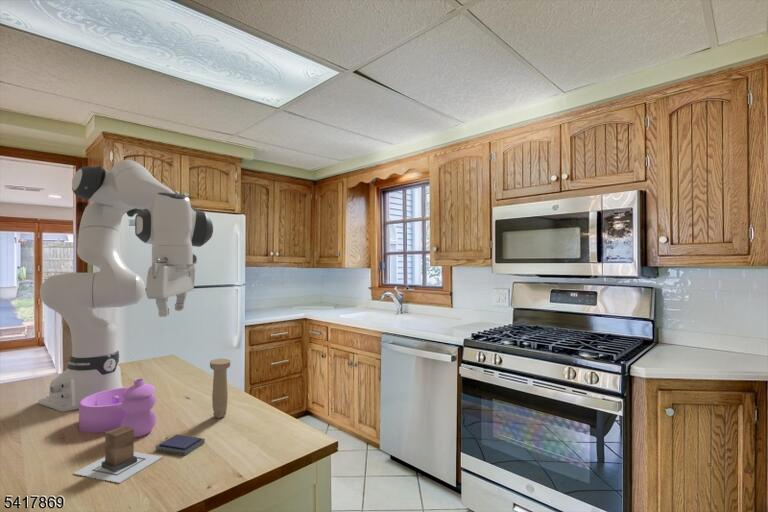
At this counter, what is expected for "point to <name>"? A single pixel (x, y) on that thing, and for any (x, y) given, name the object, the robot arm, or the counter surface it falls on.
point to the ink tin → (180, 444)
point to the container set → (119, 409)
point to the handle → (220, 386)
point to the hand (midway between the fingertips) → (172, 313)
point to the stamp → (119, 449)
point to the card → (120, 475)
